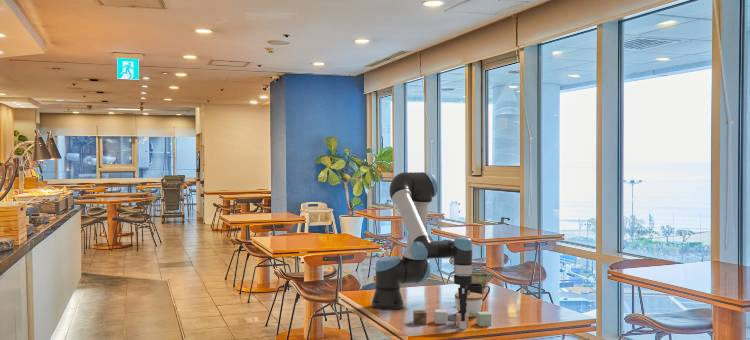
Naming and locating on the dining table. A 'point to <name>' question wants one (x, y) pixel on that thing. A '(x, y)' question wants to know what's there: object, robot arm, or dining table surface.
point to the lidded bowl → (470, 303)
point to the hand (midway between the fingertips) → (462, 325)
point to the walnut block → (419, 317)
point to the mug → (477, 289)
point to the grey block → (441, 316)
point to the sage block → (483, 318)
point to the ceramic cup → (480, 277)
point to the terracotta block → (459, 319)
